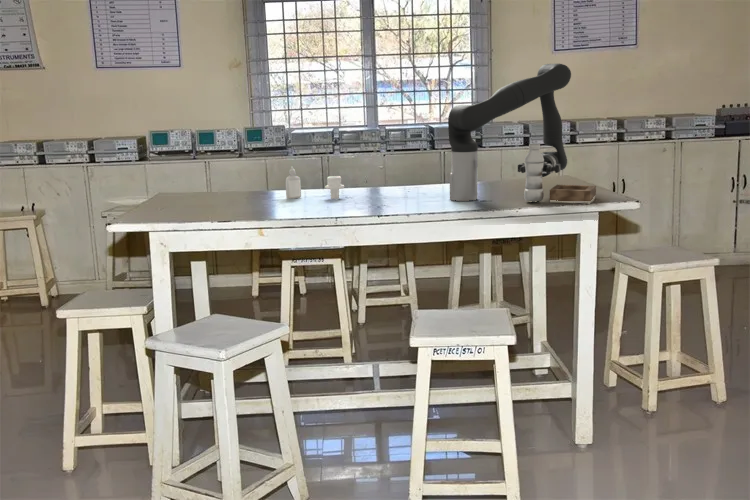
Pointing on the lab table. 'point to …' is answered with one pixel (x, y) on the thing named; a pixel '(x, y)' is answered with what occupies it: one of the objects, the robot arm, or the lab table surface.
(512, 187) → the lab table surface
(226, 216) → the lab table surface
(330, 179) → the pipe fitting
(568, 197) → the wooden square frame
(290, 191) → the eye dropper bottle
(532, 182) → the plastic bottle
